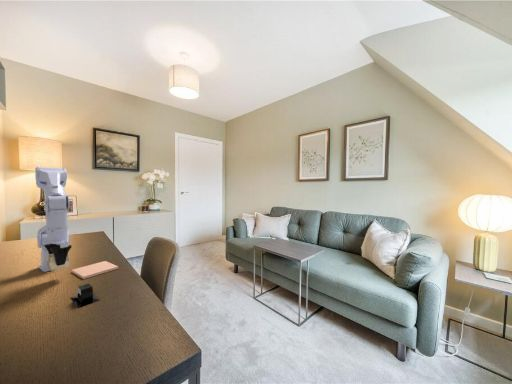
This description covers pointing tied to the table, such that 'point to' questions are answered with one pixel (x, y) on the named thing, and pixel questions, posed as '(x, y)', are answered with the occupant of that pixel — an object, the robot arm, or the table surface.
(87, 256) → the table surface
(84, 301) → the black block on base
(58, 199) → the robot arm
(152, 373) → the table surface
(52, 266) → the birch cube
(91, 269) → the salmon pink board
